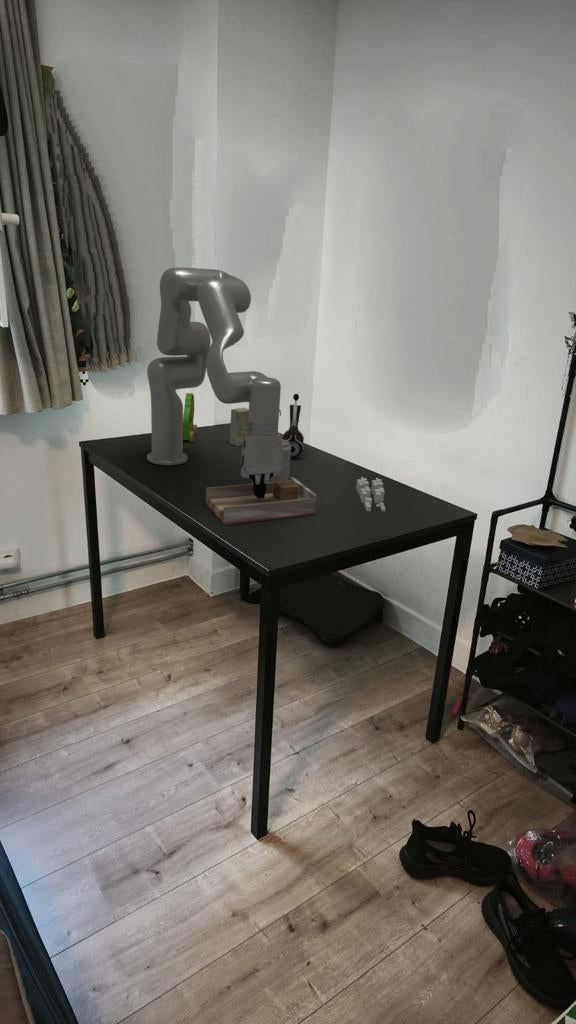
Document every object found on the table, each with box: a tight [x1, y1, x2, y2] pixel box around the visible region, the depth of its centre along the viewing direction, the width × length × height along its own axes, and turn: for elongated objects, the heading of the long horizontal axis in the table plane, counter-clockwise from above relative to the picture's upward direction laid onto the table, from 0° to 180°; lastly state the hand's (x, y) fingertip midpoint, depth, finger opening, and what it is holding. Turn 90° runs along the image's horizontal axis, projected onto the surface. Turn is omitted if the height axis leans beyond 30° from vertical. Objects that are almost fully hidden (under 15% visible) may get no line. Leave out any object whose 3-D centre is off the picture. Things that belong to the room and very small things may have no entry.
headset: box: [281, 393, 305, 459], centre depth 210 cm, size 17×8×20 cm, turn 178°
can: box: [269, 439, 291, 482], centre depth 186 cm, size 8×8×12 cm
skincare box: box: [229, 407, 249, 447], centre depth 218 cm, size 6×4×12 cm
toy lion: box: [183, 392, 198, 443], centre depth 222 cm, size 16×5×15 cm, turn 1°
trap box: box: [205, 476, 318, 526], centre depth 165 cm, size 15×25×6 cm, turn 115°
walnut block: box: [273, 479, 299, 501], centre depth 167 cm, size 5×5×4 cm
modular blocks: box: [355, 476, 386, 513], centre depth 176 cm, size 20×7×4 cm, turn 2°
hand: (259, 496), depth 164 cm, fingers closed
